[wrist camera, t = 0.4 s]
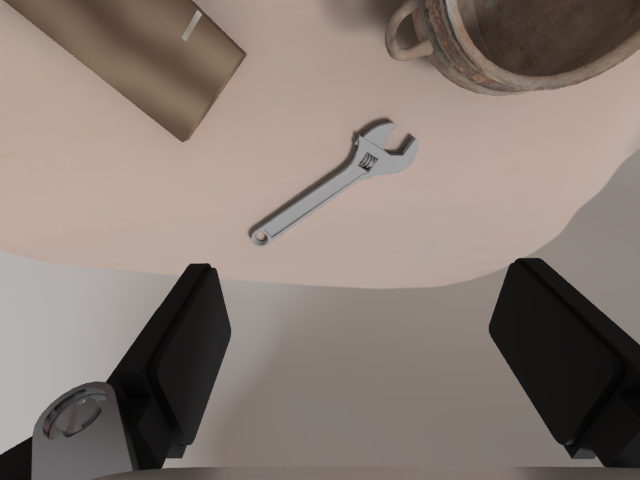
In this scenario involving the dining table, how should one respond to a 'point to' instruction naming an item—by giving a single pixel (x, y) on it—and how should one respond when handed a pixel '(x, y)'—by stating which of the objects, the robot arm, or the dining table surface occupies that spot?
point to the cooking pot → (519, 41)
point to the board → (145, 52)
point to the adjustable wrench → (343, 179)
